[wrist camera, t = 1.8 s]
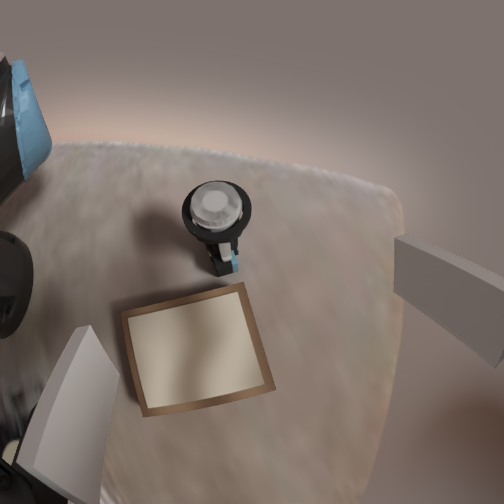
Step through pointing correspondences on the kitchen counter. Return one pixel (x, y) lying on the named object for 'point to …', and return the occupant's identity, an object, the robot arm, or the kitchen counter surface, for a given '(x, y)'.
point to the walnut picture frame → (196, 352)
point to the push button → (218, 220)
